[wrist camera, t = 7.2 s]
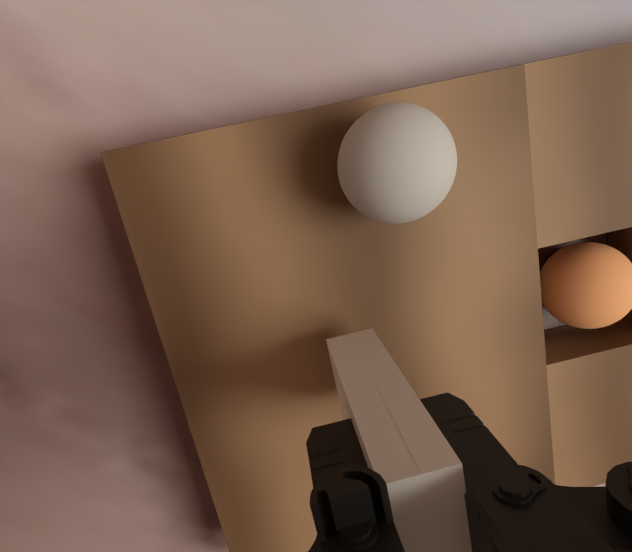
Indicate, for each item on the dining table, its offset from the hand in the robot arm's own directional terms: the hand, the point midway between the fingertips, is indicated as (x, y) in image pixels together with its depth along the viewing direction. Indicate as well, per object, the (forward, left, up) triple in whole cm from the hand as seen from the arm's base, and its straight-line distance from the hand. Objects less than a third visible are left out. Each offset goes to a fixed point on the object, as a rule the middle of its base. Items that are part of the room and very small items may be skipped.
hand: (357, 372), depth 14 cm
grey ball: (+2, +6, 0) cm, 6 cm away
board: (+4, 0, -4) cm, 5 cm away
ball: (+9, 0, -2) cm, 9 cm away
